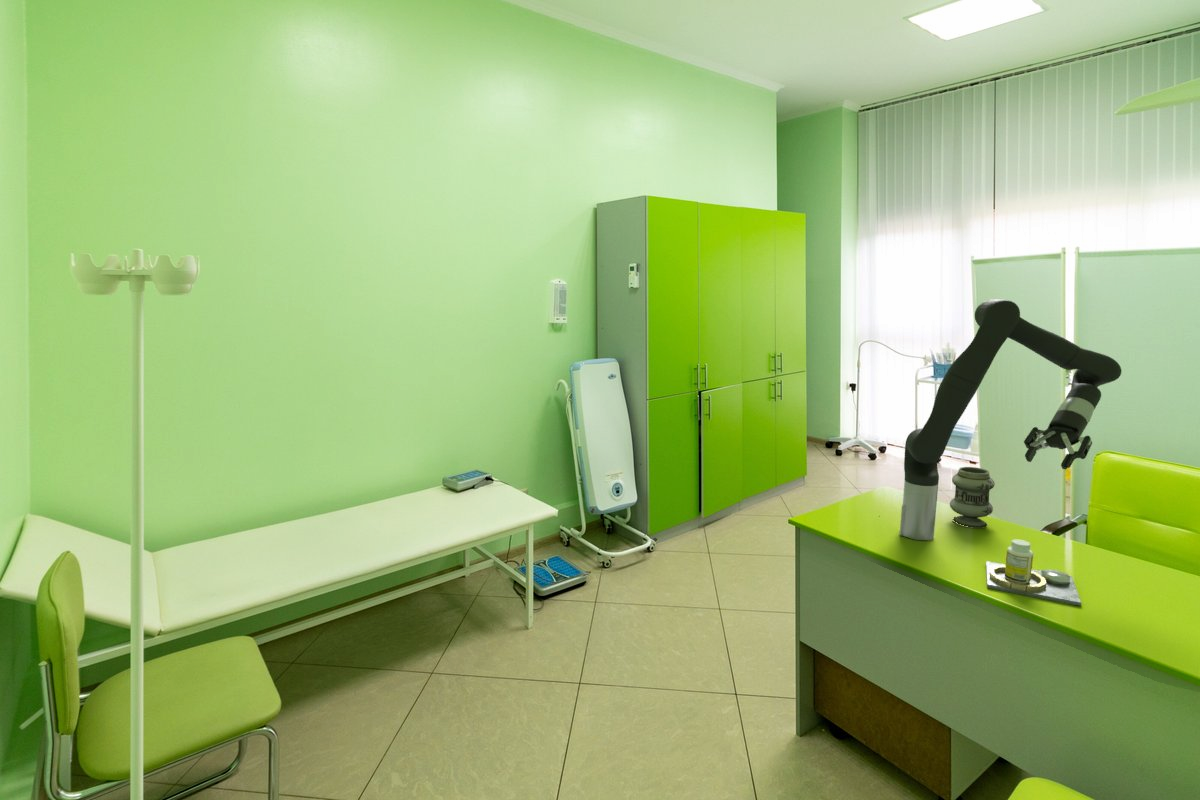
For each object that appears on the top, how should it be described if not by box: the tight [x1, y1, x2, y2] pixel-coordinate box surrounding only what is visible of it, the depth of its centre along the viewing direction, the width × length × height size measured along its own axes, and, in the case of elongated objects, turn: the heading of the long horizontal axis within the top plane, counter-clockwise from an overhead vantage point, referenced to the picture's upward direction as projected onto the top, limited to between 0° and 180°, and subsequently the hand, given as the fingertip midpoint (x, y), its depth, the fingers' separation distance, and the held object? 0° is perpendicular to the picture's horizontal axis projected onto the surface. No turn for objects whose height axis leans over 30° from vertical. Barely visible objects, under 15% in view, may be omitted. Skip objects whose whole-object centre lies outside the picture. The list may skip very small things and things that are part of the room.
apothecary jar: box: [949, 466, 995, 529], centre depth 199 cm, size 12×12×18 cm
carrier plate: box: [985, 560, 1082, 607], centre depth 158 cm, size 19×16×2 cm
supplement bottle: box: [1005, 539, 1034, 584], centre depth 158 cm, size 6×6×10 cm
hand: (1045, 463), depth 165 cm, fingers open, 8 cm apart
